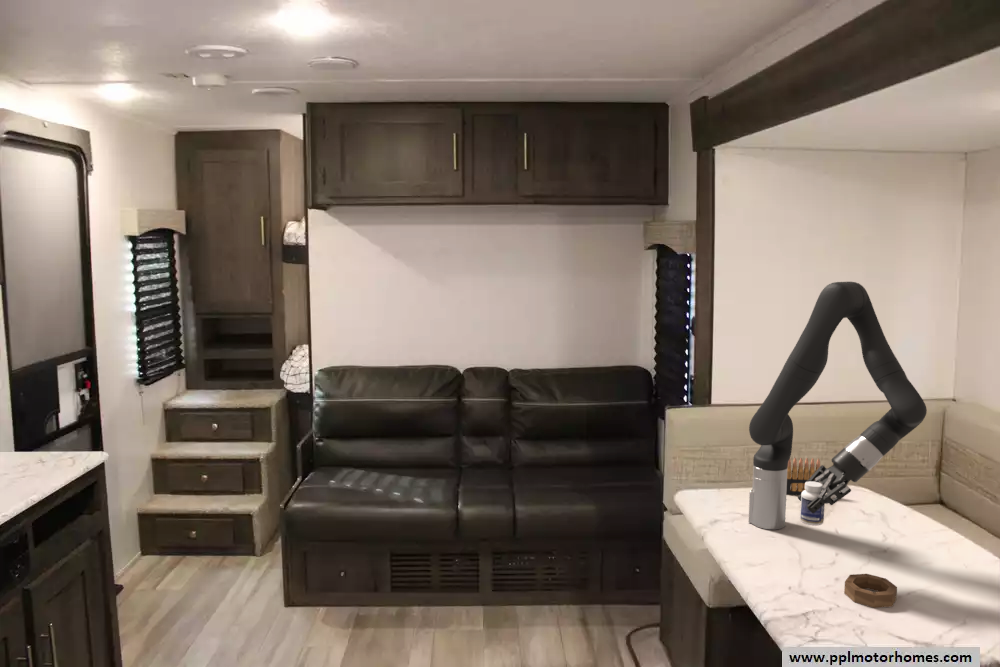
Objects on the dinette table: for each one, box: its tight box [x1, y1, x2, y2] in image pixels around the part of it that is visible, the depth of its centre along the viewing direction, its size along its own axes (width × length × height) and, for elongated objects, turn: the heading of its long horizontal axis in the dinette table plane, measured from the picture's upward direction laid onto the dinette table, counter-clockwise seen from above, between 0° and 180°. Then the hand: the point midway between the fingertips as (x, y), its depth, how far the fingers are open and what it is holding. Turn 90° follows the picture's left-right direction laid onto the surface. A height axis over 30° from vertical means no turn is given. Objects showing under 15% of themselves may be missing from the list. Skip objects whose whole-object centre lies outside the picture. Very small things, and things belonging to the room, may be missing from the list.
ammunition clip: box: [786, 457, 821, 496], centre depth 243 cm, size 11×2×12 cm, turn 81°
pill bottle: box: [799, 481, 826, 527], centre depth 188 cm, size 5×5×10 cm
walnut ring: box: [843, 573, 898, 609], centre depth 178 cm, size 10×10×3 cm
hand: (805, 505), depth 188 cm, fingers closed on pill bottle, 5 cm apart
